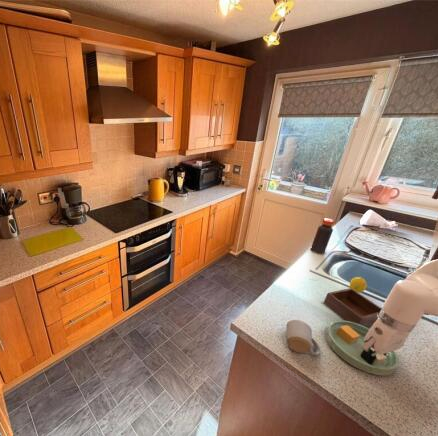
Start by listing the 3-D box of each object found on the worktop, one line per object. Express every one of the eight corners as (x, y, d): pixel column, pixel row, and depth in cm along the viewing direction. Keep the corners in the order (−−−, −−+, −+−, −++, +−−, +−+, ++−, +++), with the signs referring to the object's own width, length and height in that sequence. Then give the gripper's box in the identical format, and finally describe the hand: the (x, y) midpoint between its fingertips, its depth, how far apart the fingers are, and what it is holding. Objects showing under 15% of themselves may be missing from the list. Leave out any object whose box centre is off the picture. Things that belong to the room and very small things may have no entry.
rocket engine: (405, 217, 156) (373, 207, 162) (400, 231, 153) (368, 220, 160) (392, 224, 166) (363, 213, 173) (388, 237, 163) (358, 226, 170)
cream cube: (367, 351, 78) (371, 344, 77) (382, 364, 74) (387, 357, 73) (359, 353, 78) (363, 346, 76) (374, 366, 74) (378, 359, 72)
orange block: (343, 331, 85) (347, 324, 84) (356, 342, 81) (360, 335, 80) (336, 333, 85) (339, 326, 83) (349, 344, 81) (352, 337, 79)
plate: (351, 322, 90) (354, 316, 88) (408, 368, 74) (414, 361, 72) (313, 332, 86) (316, 325, 84) (365, 383, 70) (370, 375, 68)
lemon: (364, 292, 104) (371, 278, 101) (359, 297, 102) (367, 283, 98) (349, 286, 109) (355, 272, 105) (344, 290, 106) (351, 276, 102)
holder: (346, 298, 102) (351, 287, 99) (380, 323, 90) (387, 312, 87) (323, 303, 99) (327, 292, 96) (355, 329, 87) (362, 318, 84)
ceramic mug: (283, 348, 80) (290, 333, 76) (283, 330, 86) (289, 316, 83) (320, 363, 75) (328, 348, 72) (317, 343, 82) (325, 328, 79)
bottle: (325, 254, 132) (338, 223, 124) (312, 252, 134) (323, 221, 126) (322, 248, 138) (334, 218, 129) (309, 246, 140) (319, 217, 132)
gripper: (390, 335, 63) (363, 376, 71) (432, 323, 67) (402, 363, 74) (361, 314, 70) (339, 353, 77) (401, 304, 73) (376, 343, 81)
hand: (370, 358), depth 76 cm, fingers closed on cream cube, 3 cm apart
